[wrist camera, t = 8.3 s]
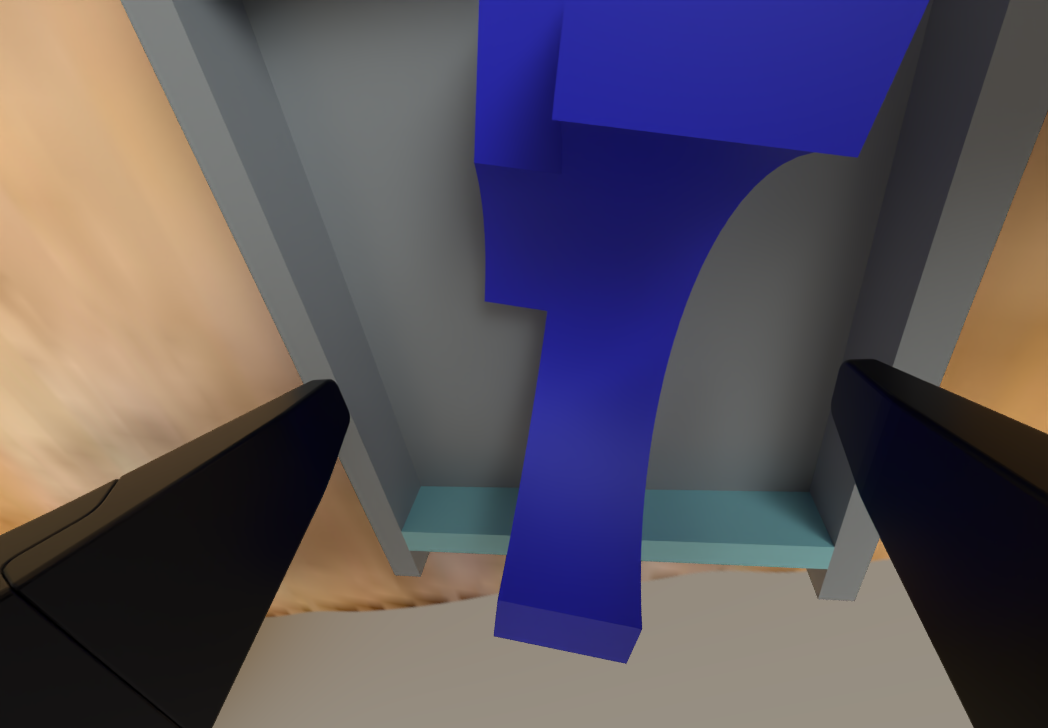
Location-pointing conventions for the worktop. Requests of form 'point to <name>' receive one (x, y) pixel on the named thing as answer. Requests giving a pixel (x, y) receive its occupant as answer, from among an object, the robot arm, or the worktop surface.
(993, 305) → the worktop surface
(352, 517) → the worktop surface
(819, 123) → the cable clip
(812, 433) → the tray
